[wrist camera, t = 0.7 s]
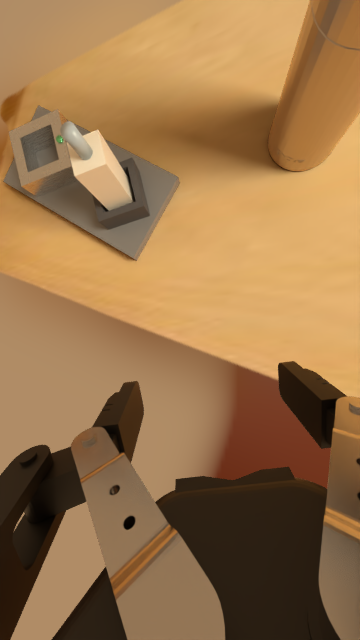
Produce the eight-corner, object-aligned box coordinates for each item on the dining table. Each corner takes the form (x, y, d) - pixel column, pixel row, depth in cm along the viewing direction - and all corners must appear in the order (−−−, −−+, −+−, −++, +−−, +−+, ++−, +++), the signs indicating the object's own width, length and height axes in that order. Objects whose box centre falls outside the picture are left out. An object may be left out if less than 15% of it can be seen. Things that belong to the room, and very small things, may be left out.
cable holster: (98, 187, 34) (87, 174, 31) (139, 171, 33) (132, 157, 30) (108, 229, 34) (98, 221, 31) (150, 215, 33) (144, 205, 30)
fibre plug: (109, 193, 34) (45, 118, 21) (132, 184, 33) (81, 102, 20) (115, 217, 34) (54, 156, 21) (138, 209, 33) (90, 141, 20)
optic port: (25, 146, 36) (7, 130, 33) (71, 126, 35) (56, 107, 31) (37, 197, 36) (20, 185, 33) (83, 179, 34) (70, 165, 31)
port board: (45, 113, 37) (38, 105, 36) (179, 183, 33) (178, 176, 32) (11, 186, 38) (3, 181, 37) (136, 260, 35) (133, 258, 33)
